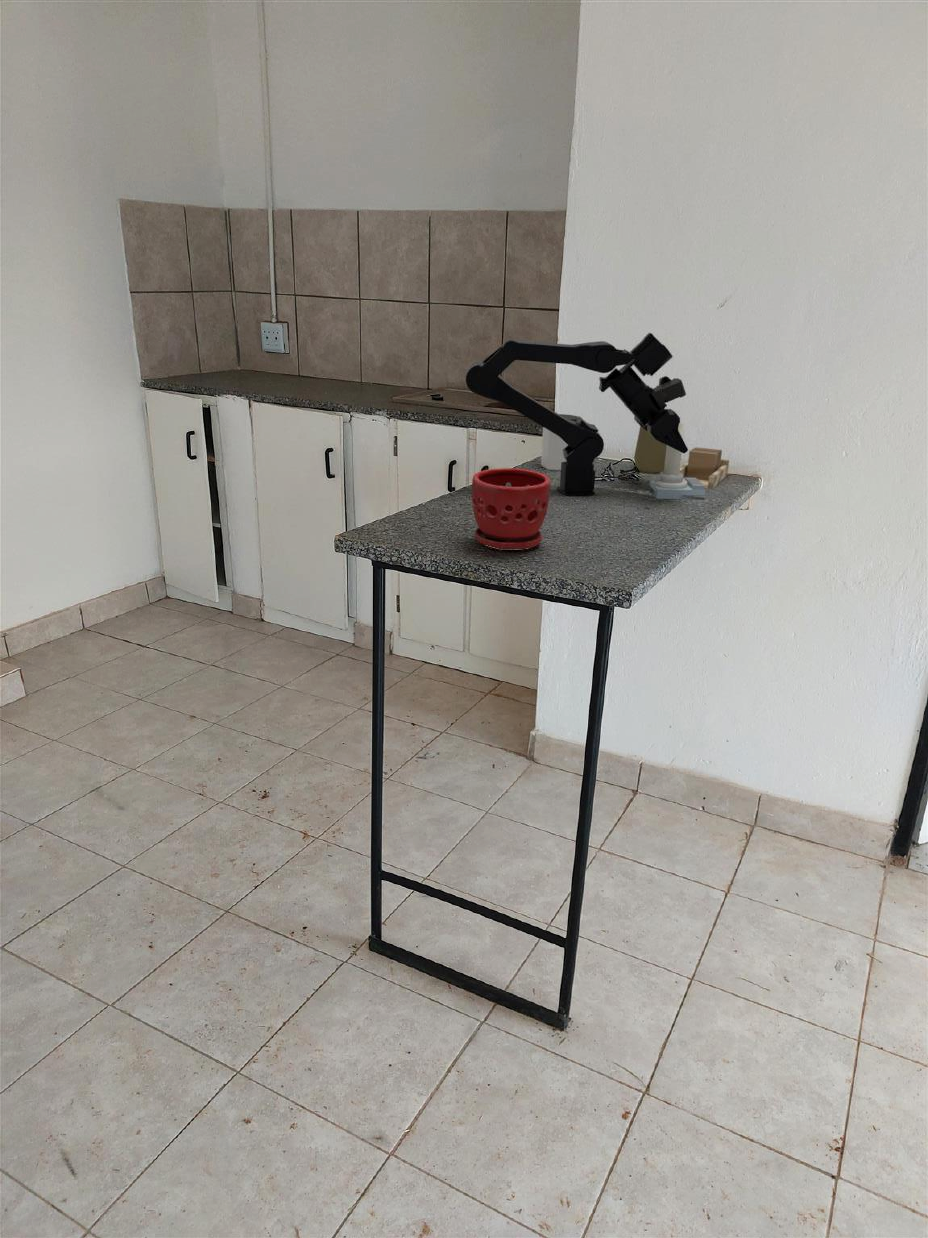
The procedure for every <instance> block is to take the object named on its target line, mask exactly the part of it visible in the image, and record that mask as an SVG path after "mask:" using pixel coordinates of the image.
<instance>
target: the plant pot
mask: <svg viewBox="0 0 928 1238" xmlns="http://www.w3.org/2000/svg"><path fill="white" fill-rule="evenodd" d="M471 481H472V483H471V502H472V503H471V504H472V509H473V516H474V518H475V522H476V524H477V527H478V528H476V529H475V531H474V537H475V539H476V541H477V542H478V541H479V542H480V543H479V542H478V543H479V544H481V543H482V544H484V545H488V546H491V547H495V548H499V549H526V548H530V549H532V548H531V547H533V548H535V547H536V546H537V545H539V544H540V543H541V542H542V539H543V534H542V532H541V531H540V529H541V527H542V525H543V523H544V520H545V518H546V515H547V513H548V512H547V511H548V507H549V500H550V494H551V479H550V477H549V476H548V475H546V474H543V473H541V472H538V471H535V470H530V469H523V468H512V467H508V468H506V467H505V468H504V467H503V468H501V467H500V468H490V469H485V470H480V471H478V472H476V473H474V475H473V476H472V480H471ZM507 484H510V486H507ZM536 501H537V503H536ZM482 544H481V545H482ZM484 545H483V546H484ZM534 546H535V547H534Z"/></svg>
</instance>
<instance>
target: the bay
mask: <svg viewBox="0 0 928 1238" xmlns="http://www.w3.org/2000/svg"><path fill="white" fill-rule="evenodd" d="M729 464H730V460H729V459H722V458H721V462H720V468H719V469H718V470H717V471H715V472H714V473H713V474H712V475H711V476H710V477H709V480H700V479H698V480H699V481H700V482H701V483H702V484H703V485H705V489H708V490H713V489H714V488H715V487H716V486H717V485H719V484H720V483H721V482H722V481H723V480H724V479H725V478H726V477H727V476H728V472H729ZM687 469H688V461H686V462H685V463H683V464H682V465H680V471H679V472H680V473H682V474H683V479H684V480H685V478H686V477H687Z"/></svg>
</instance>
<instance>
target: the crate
mask: <svg viewBox="0 0 928 1238" xmlns="http://www.w3.org/2000/svg"><path fill="white" fill-rule="evenodd" d="M688 451H689V453H688V461H687V462H688V469H687V477H686V478H697V479H700V480H709V477H710V476H711V475H712V474H713V473H714V472H715V471H717V470H718V469H719V468H720V462H721V459H722V453H723V449H716V448H709V447H708V448H707V447H698V446H697V447H693V448H692V449H691V450H688Z"/></svg>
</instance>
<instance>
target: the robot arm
mask: <svg viewBox="0 0 928 1238" xmlns="http://www.w3.org/2000/svg"><path fill="white" fill-rule="evenodd" d="M671 359H673V355H672V353H671V352H670V350H669V349H668V348H667V347H666V346H665V345H664V344H663V343H661V342H660V340H659V339H657V338H656V337H655V335H654V334H653V333H651V332H648V333H647V334H646V335H645V336H644V337H643V339H642V340H641V341H640V342H639V343H638V344H636V346H634V347H633V348H632V349H631V350H630V351H628V350H627V349H625V348H624V349H619V348H616V347H615V346H614V345H613V344H611V343H609V342H607V341H604V340H603V341H601V340H600V341H599V340H598V341H590V342H589V341H588V342H583V343H575V344H566V343H565V344H564V343H552V342H542V341H541V342H540V341H538V342H537V341H529V340H518V339H515V338H508V339H507V340H505V341H504V342H503V343H502V344H501V346H500V347H498V348H497V349H495V351H494V352H492V353H491V354H489V355H488V356H487V357H486V358H485V359H484V360H483V361H479V362H478V361H477V362H474V363H472V364H471V365H470V366H469V367H468V368H467V370H466V373H465V383H466V387H467V388H468V390H469V391H470V392H472V393H473V394H476V395H478V396H481V397H484V398H486V399H489V400H492V401H496V402H499V403H502V404H504V405H506V406H507V407H509V408H510V409H512V410H514V411H516V412H517V413H519V414H521V416H524V417H526V418H528V419H529V420H531V421H533V422H534V423H536V424H537V425H539V426H540V427H542V428H543V427H544V428H546V429H547V430H549V431H551V432H552V433H554V434H556V435H558V436H559V437H560V438H561V439H562V440H563V441H564V442H565V443H566V444H568V446H566V447H565V448H564V449H563V454H564V457H565V459H566V462H561V471H560V475H559V486H556V490H558V491H559V492H561V493H562V494H563V495H565V496H589V495H590V496H593V495H596V494H595V493H596V492H595V491H594V490H595V485H596V484H595V483H596V481H595V480H596V470H595V469H594V468H595V464H594V462H595V460H596V458H597V457H599V456H600V455H601V454H602V453H603V451H604V449H605V442H604V439H603V437H602V436H601V435H600V433H599V429H598V427H597V426H596V425H595V424H591V423H589V422H587V421H586V420H584V419H583V418H582V417H581V416H579V415H577V416H578V419H577V421H576V422H575V421H572V420H568V419H566V418H564V417H563V416H561V415H559V413H557V412H556V411H555V410H553V409H551V408H550V407H547V406H545V405H544V404H542V403H540V402H539V401H537V400H536V399H534V398H532V397H531V396H529V395H527V394H526V393H525V392H523V391H521V390H519V389H518V388H516V387H514V386H512V385H511V384H510V383H509V382H508V381H507V380H506V379H504V377H502V373H503V372H504V371H505V370H506V369H508V367H510V365H512V363H514V362H515V361H525V362H539V363H551V364H562V365H563V364H564V365H573V366H576V367H579V368H582V369H586V370H589V371H593V372H597V373H601V374H607V373H608V375H607V376H604V377H603V376H599V378H598V379H599V387H598V389H599V391H601V393H605V392H606V391H607V390H608V389H609V388H610V389H611V390H612V392H613V393H614V394H615V395H616V396H617V397H618V398H619V400H620V401H621V402H622V403H623V404H624V406H625V408H627V410H629V411H630V412H631V413H632V415H633V416H634V418H633V419H634V421H635V422H636V423H637V424H638V425H639V426H641V427H642V428H643V429H644V430H646V431H648V432H649V433H650V434H651V435H652V437H653V438H654V439H656V440H657V441H659V442H661V443H663V444H665V445H668V446H670V447H672V448H674V449H676V450H678V451H680V452H682V453H681V454H686V453H687V452H688V451H689V449H688V446H687V444H686V443H685V440H684V438H683V439H682V437H681V435H680V433H679V431H678V427H679V423H681V417H680V416H679V415H678V414H677V413H676V411H675V410H673V409H671V408H667V407H668V404H666V403H669V402H671V401H673V400H676V399H678V398H679V399H680V398H683V397H685V396H686V395H687V393H686V389H685V387H684V384H683V382H682V381H683V380H682V379H679V378H678V377H677V378H672V379H671V378H670V377H669V376H667V375H665V376H662V377H660V378H659V380H658V385H656V386H655V387H654V388H652V387H650V386H649V385H647V384H646V383H645V381H644V380H643V379H642V378H641V377H640V375H639V374H637V372H636V371H635V370H634V369H633V366H634V368H635V369H636V370H637V371H638V373H640V374H641V376H642V377H646V375H647V376H650V377H652V376H654V375H655V374H656V373H657V372H658V371H659V370H660V369H662V368H663V366H665V365H666V364H667V363H668V362H669V361H670V360H671ZM618 366H619V367H620V366H622V367H621V368H619V369H618V368H617V367H618Z"/></svg>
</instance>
